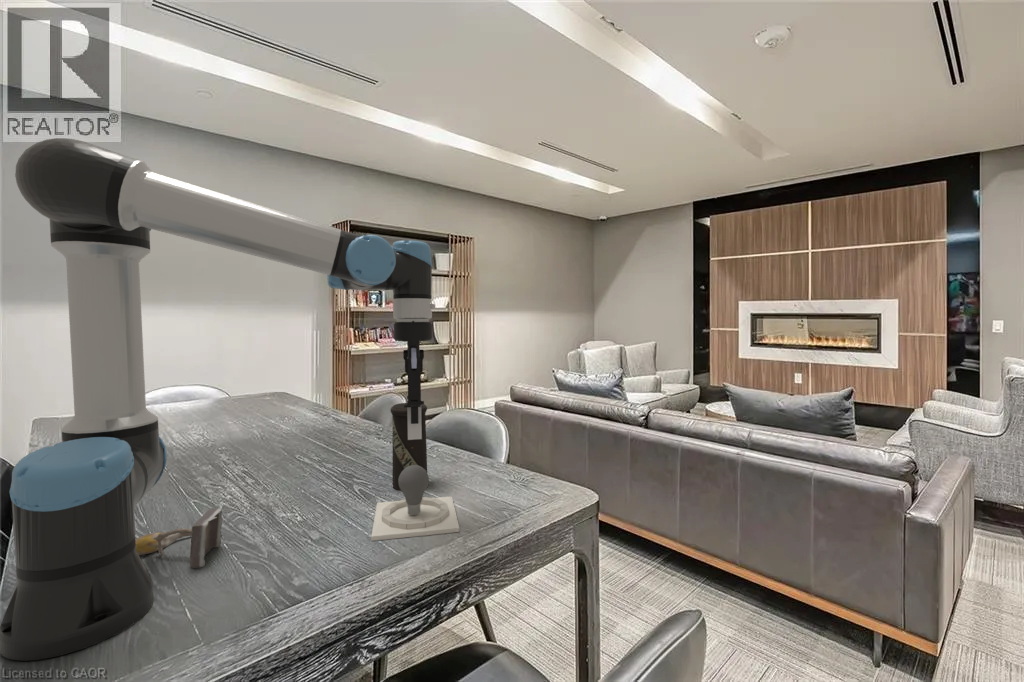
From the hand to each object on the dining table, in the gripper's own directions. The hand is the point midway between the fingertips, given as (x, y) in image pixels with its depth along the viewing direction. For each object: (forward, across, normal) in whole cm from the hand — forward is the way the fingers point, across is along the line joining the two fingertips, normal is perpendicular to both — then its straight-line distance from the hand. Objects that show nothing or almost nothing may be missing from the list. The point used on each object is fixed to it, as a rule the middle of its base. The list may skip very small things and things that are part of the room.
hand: (414, 438), depth 94 cm
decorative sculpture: (+17, -4, +40) cm, 44 cm away
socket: (+16, 0, 0) cm, 16 cm away
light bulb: (+16, 0, 0) cm, 16 cm away
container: (+17, +20, +1) cm, 26 cm away
